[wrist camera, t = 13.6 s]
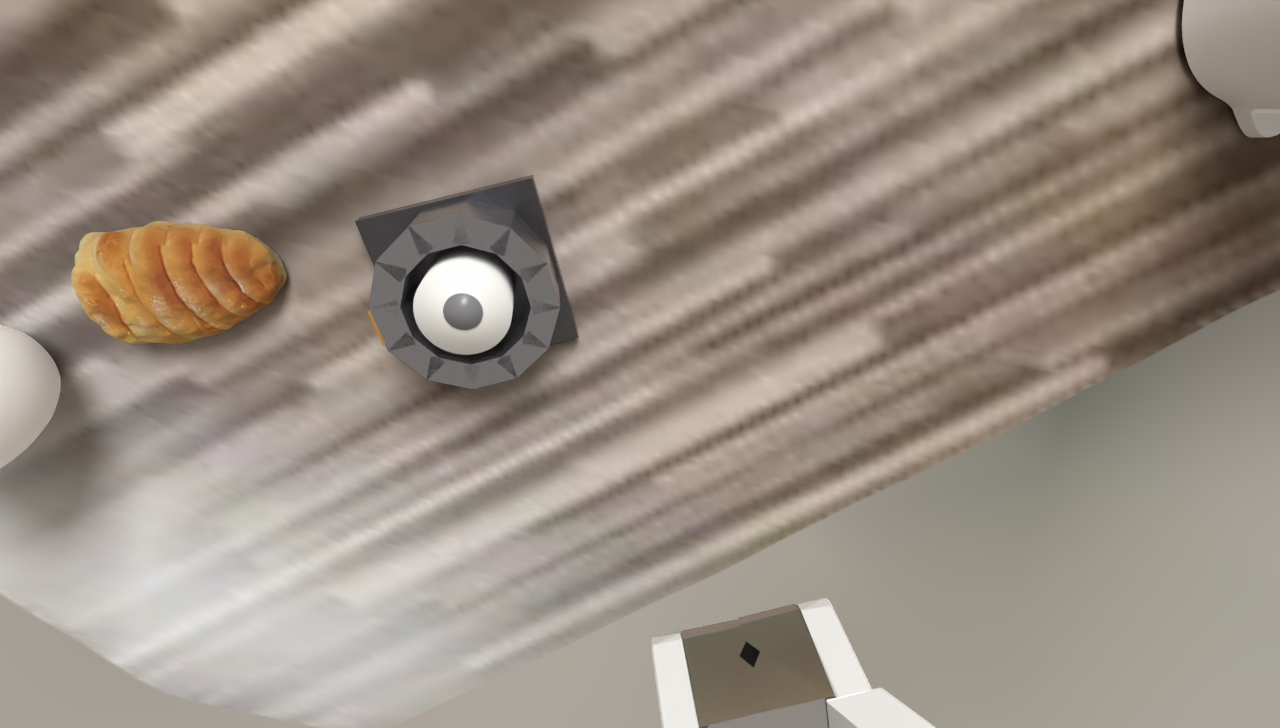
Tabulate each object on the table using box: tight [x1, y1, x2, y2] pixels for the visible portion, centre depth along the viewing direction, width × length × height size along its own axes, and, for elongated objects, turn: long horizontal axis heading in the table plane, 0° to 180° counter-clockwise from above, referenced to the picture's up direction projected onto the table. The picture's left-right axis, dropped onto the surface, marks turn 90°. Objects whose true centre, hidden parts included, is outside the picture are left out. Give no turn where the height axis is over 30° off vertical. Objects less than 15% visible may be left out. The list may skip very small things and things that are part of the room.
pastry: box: [72, 221, 287, 344], centre depth 33 cm, size 9×7×4 cm
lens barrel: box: [355, 175, 579, 389], centre depth 34 cm, size 10×10×5 cm
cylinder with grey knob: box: [413, 245, 516, 355], centre depth 33 cm, size 5×5×5 cm
